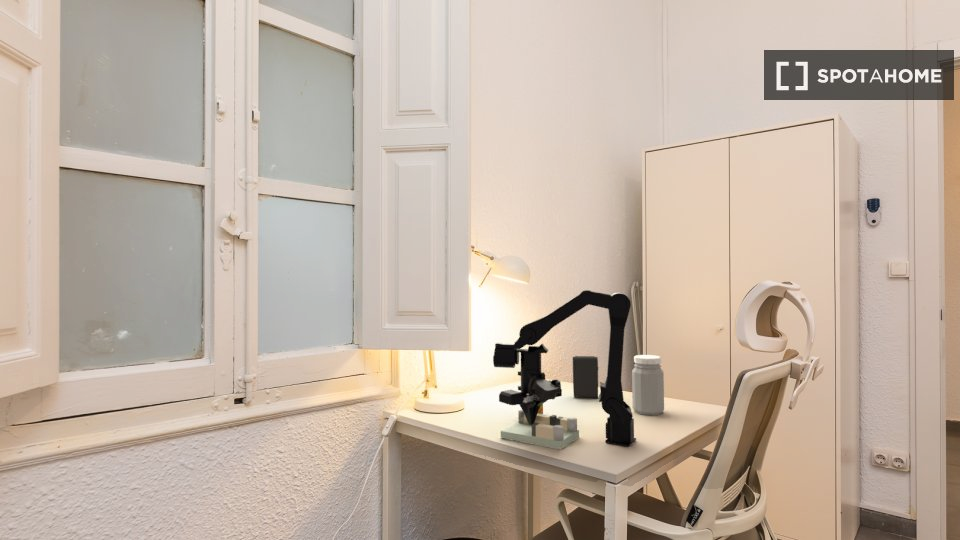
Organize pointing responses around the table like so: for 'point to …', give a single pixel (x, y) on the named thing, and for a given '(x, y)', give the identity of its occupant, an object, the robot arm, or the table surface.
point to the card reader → (585, 376)
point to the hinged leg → (538, 419)
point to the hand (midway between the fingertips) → (531, 424)
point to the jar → (648, 385)
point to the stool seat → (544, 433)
